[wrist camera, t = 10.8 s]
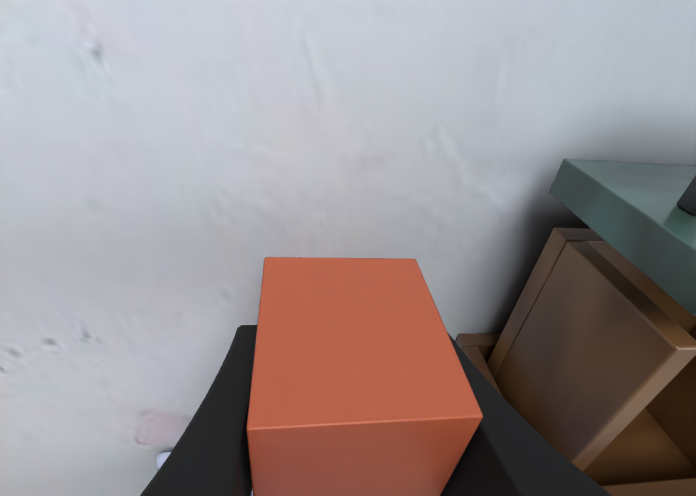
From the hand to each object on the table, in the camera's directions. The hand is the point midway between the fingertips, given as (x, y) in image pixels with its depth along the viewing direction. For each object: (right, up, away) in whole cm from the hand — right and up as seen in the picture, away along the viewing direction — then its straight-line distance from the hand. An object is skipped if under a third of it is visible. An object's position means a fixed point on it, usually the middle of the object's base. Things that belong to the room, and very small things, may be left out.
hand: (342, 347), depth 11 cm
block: (0, +1, +1) cm, 1 cm away
